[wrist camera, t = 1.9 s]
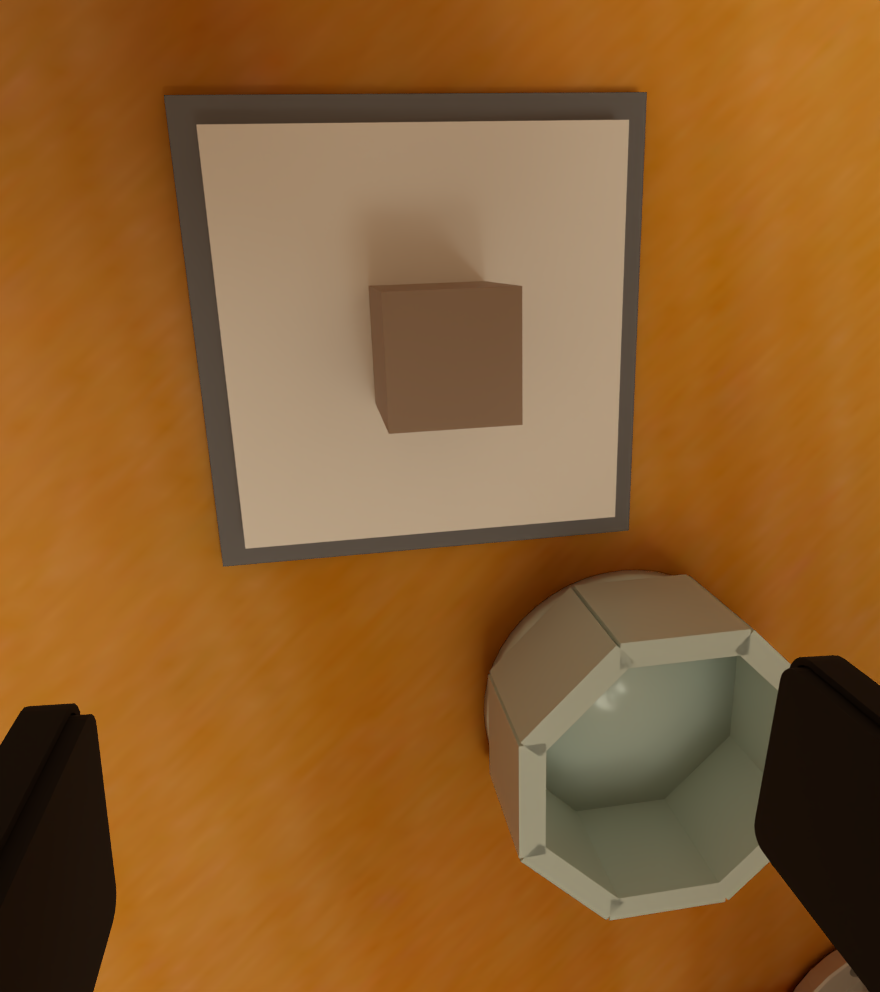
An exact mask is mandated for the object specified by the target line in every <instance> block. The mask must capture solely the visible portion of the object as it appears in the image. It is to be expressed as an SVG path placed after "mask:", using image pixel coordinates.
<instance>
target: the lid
mask: <svg viewBox="0 0 880 992" xmlns="http://www.w3.org/2000/svg"><path fill="white" fill-rule="evenodd" d="M196 126H197V135H198V144H199V152H200V161H201V170H202V178H203V187H204V195H205V204H206V213H207V221H208V230H209V239H210V247H211V256H212V264H213V273H214V282H215V290H216V299H217V307H218V316H219V325H220V333H221V342H222V351H223V359H224V368H225V376H226V385H227V394H228V402H229V411H230V420H231V428H232V437H233V445H234V454H235V463H236V471H237V480H238V489H239V497H240V506H241V514H242V523H243V532H244V540H245V549H248V548H260V547H271V546H283V545H294V544H306V543H318V542H329V541H341V540H352V539H364V538H376V537H387V536H399V535H410V534H422V533H434V532H445V531H457V530H469V529H480V528H492V527H503V526H515V525H527V524H538V523H550V522H561V521H573V520H585V519H596V518H608V517H615V504H616V476H617V448H618V420H619V392H620V364H621V336H622V307H623V279H624V251H625V223H626V195H627V167H628V139H629V120H557V121H467V122H377V123H287V124H197V125H196Z"/></svg>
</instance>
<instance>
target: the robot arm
mask: <svg viewBox="0 0 880 992" xmlns="http://www.w3.org/2000/svg"><path fill="white" fill-rule="evenodd" d="M754 829H755V835H756V839H757V842H758V844H759V847H760V849H761V850H762V852H763V853H764V854H765V856H766V857H767V858H768V860H769V861H770V862H771V864H772V865H773V866H774V868H775V869H776V870H777V872H778V873H779V874H780V875H781V877H782V878H783V879H784V881H785V882H786V883H787V885H788V886H789V887H790V889H791V890H792V891H793V893H794V894H795V895H796V896H797V898H798V899H799V900H800V902H801V903H802V904H803V906H804V907H805V908H806V910H807V911H808V912H809V914H810V915H811V916H812V917H813V919H814V920H815V921H816V923H817V924H818V925H819V927H820V928H821V929H822V931H823V932H824V933H825V935H826V936H827V937H828V938H829V940H830V941H831V942H832V944H833V945H834V946H835V948H836V950H835V951H833V952H832V953H830V954H829V955H827V956H826V957H825V958H824V959H823V960H821V961H820V962H819V963H818V964H817V965H816V966H815V967H813V968H812V969H811V970H810V971H809V972H808V974H807V975H806V976H805V977H804V978H803V979H802V981H801V982H800V983H799V984H798V985H797V986H796V988H795V990H794V991H793V992H880V685H878V684H877V683H876V682H874V681H873V680H872V679H870V678H869V677H868V676H866V675H865V674H864V673H862V672H861V671H860V670H858V669H857V668H856V667H855V666H853V665H852V664H851V663H849V662H848V661H847V660H845V659H844V658H842V657H840V656H834V655H831V656H815V657H799V658H797V659H795V660H794V661H793V663H792V664H791V665H790V668H788V669H786V670H784V672H783V673H782V675H781V678H780V683H779V688H778V694H777V699H776V705H775V711H774V716H773V722H772V727H771V733H770V738H769V744H768V749H767V755H766V760H765V766H764V772H763V777H762V783H761V788H760V794H759V799H758V805H757V810H756V816H755V823H754ZM115 906H116V883H115V875H114V867H113V858H112V850H111V842H110V833H109V825H108V817H107V808H106V800H105V792H104V783H103V775H102V767H101V758H100V750H99V742H98V733H97V725H96V720H95V718H94V716H93V715H92V714H87V715H80V711H79V708H78V706H77V705H76V704H75V703H73V704H58V705H42V706H28V707H24V709H23V710H22V711H21V712H20V714H19V715H18V717H17V719H16V720H15V722H14V724H13V725H12V727H11V728H10V730H9V732H8V733H7V735H6V737H5V738H4V740H3V742H2V743H1V745H0V992H93V991H94V987H95V983H96V980H97V976H98V973H99V969H100V966H101V962H102V959H103V955H104V952H105V948H106V945H107V941H108V937H109V934H110V930H111V927H112V923H113V919H114V914H115Z"/></svg>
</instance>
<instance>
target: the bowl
mask: <svg viewBox="0 0 880 992" xmlns="http://www.w3.org/2000/svg"><path fill="white" fill-rule="evenodd" d="M790 665H791V664H790V663H789V662H788V661H787V660H786V659H785V658H783V657H782V656H781V655H780V654H779V653H778V652H777V651H776V650H775V649H774V648H773V647H772V646H771V645H770V644H769V643H768V642H767V641H766V640H764V639H763V638H762V637H761V636H760V635H759V634H758V633H757V632H756V631H755V630H754V629H753V628H751V627H750V626H749V625H748V624H747V623H745V622H744V621H743V620H742V619H741V618H740V617H738V616H737V615H736V614H735V613H734V612H732V611H731V610H730V609H729V608H728V607H726V606H725V605H724V604H723V603H722V602H720V601H719V600H718V599H717V598H716V597H714V596H713V595H712V594H711V593H710V592H709V591H707V590H706V589H705V588H704V587H703V586H701V585H700V584H699V583H698V582H697V581H695V580H694V579H693V578H692V577H691V576H687V575H686V574H685V575H674V576H672V575H668V574H664V573H660V572H655V571H645V570H621V571H615V572H609V573H603V574H599V575H596V576H592V577H589V578H586V579H583V580H581V581H578V582H576V583H574V584H571V585H569V586H567V587H565V588H563V589H562V590H560V591H558V592H556V593H555V594H553V595H551V596H550V597H549V598H547V599H546V600H544V601H543V602H542V603H540V604H539V605H538V606H536V607H535V608H534V609H533V610H532V611H531V612H530V613H529V614H528V615H527V616H525V617H524V618H523V619H522V621H521V622H520V623H519V624H518V625H517V626H516V628H515V629H514V630H513V631H512V632H511V634H510V635H509V637H508V638H507V640H506V641H505V643H504V644H503V646H502V647H501V649H500V651H499V653H498V655H497V657H496V659H495V661H494V663H493V666H492V669H491V670H490V674H488V682H487V687H486V692H485V699H484V719H485V728H486V732H487V736H488V740H489V763H490V776H491V779H492V781H493V784H494V787H495V790H496V793H497V796H498V799H499V802H500V805H501V807H502V810H503V813H504V816H505V819H506V822H507V825H508V828H509V830H510V833H511V836H512V839H513V842H514V845H515V848H516V851H517V853H518V856H519V858H520V860H521V862H522V863H524V864H525V865H527V866H528V867H530V868H531V869H533V870H534V871H536V872H537V873H538V874H540V875H541V876H543V877H544V878H546V879H547V880H549V881H550V882H552V883H553V884H555V885H556V886H557V887H559V888H560V889H562V890H563V891H565V892H566V893H568V894H569V895H571V896H572V897H573V898H575V899H576V900H578V901H579V902H581V903H582V904H584V905H585V906H587V907H588V908H589V909H591V910H592V911H594V912H595V913H597V914H598V915H600V916H601V917H603V918H604V919H607V918H609V920H616V919H622V918H628V917H634V916H640V915H647V914H653V913H659V912H665V911H671V910H677V909H684V908H690V907H696V906H702V905H708V904H714V903H721V902H725V898H727V899H728V900H729V899H730V898H731V897H732V896H733V895H734V894H736V893H737V892H738V891H739V890H740V889H741V888H742V887H743V886H744V885H745V884H746V883H747V882H748V881H749V880H750V879H752V878H753V877H754V876H755V875H756V874H757V873H758V872H759V871H760V870H761V869H762V868H763V867H764V866H765V865H766V864H767V863H769V862H770V861H769V860H768V858H767V857H766V856H765V854H764V853H763V852H762V850H761V849H760V847H759V844H758V842H757V839H756V835H755V829H754V823H755V816H756V810H757V805H758V799H759V794H760V788H761V783H762V777H763V772H764V766H765V760H766V755H767V749H768V744H769V738H770V733H771V727H772V722H773V716H774V711H775V705H776V699H777V694H778V688H779V683H780V678H781V675H782V673H783V672H784V670H786V669H788V668H790Z"/></svg>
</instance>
